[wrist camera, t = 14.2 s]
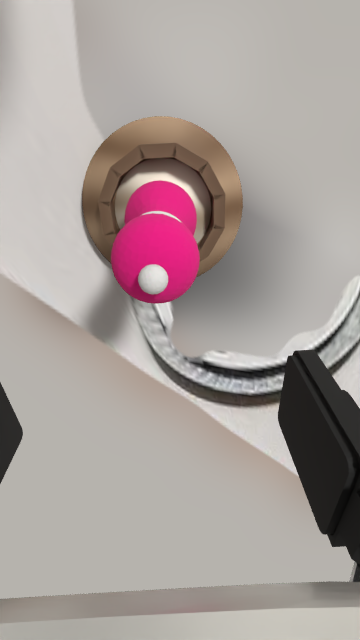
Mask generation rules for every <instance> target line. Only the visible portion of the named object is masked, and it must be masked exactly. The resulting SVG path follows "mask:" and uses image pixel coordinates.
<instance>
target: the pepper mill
mask: <svg viewBox="0 0 360 640" xmlns="http://www.w3.org/2000/svg"><path fill="white" fill-rule="evenodd" d="M124 222H125V226H124V227H123V228H122V229H121V230H120V231H119V233H118V234H117V236H116V238H115V241H114V243H113V247H112V251H111V264H112V269H113V273H114V276H115V278H116V280H117V281H118V283H119V284H120V286H121V287H122V288H123V290H124V291H125V292H127V293H128V294H129V295H131V296H132V297H133V298H136V299H138V300H140V301H143V302H147V303H165V302H170V301H172V300H174V299H177V298H178V297H180V296H181V295H183V294H184V293H185V292H186V291H187V290H188V289H189V288H190V287H191V285H192V283H193V282H194V280H195V278H196V276H197V273H198V269H199V261H200V255H199V250H198V246H197V242H196V240H195V238H194V233H195V230H196V224H197V214H196V208H195V205H194V203H193V201H192V199H191V197H190V196H189V195H188V193H187V192H186V191H185V190H184V189H183V188H181V187H180V186H178V185H176V184H174V183H172V182H168V181H162V180H159V181H152V182H148V183H146V184H144V185H142V186H141V187H139V188H138V189H137V190H136V191H135V192H134V193H133V194H132V195H131V197H130V198H129V201H128V203H127V206H126V210H125V219H124Z"/></svg>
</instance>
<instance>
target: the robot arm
mask: <svg viewBox="0 0 360 640" xmlns="http://www.w3.org/2000/svg"><path fill="white" fill-rule="evenodd" d="M278 421H279V425H280V427H281V430H282V433H283V435H284V438H285V441H286V443H287V446H288V449H289V451H290V454H291V456H292V459H293V462H294V464H295V467H296V470H297V472H298V475H299V478H300V480H301V483H302V485H303V488H304V491H305V493H306V496H307V499H308V501H309V504H310V506H311V509H312V512H313V514H314V517H315V520H316V522H317V525H318V527H319V530H320V531H321V533H322V534H327V535H328V537H329V540H330V542H331V545H332V547H340V546H346V547H347V549H348V552H349V554H350V556H351V559H353V560H354V561H355V562H354V566H353V570H352V573H351V577H350V581H349V582H308V583H276V584H254V585H236V586H216V587H198V588H178V589H160V590H143V591H125V592H108V593H92V594H75V595H58V596H42V597H24V598H9V599H0V640H360V409H359V407H358V406H357V404H356V403H355V401H354V400H353V398H352V397H351V396H350V395H349V393H348V392H346V391H345V390H341V389H340V387H339V386H338V384H337V383H336V381H335V380H334V378H333V377H332V375H331V374H330V372H329V371H328V369H327V368H326V366H325V365H324V363H323V362H322V361H321V359H320V358H319V356H318V355H317V353H316V352H315V351H314V350H301V351H294V353H293V356H288V358H287V364H286V369H285V375H284V381H283V387H282V393H281V399H280V405H279V411H278ZM22 435H23V432H22V427H21V425H20V423H19V421H18V419H17V417H16V415H15V412H14V411H13V408H12V406H11V404H10V402H9V400H8V398H7V396H6V393H5V391H4V389H3V387H2V385H1V383H0V483H1V481H2V479H3V477H4V475H5V472H6V471H7V469H8V467H9V464H10V462H11V460H12V458H13V456H14V454H15V452H16V450H17V448H18V446H19V444H20V442H21V439H22Z"/></svg>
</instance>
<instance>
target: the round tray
mask: <svg viewBox="0 0 360 640" xmlns="http://www.w3.org/2000/svg"><path fill="white" fill-rule="evenodd" d="M159 180H162V181H168V182H172V183H174V184H176V185H178V186H180V187H181V188H183V189H184V190H185V191H186V192H187V193H188V195H189V196H190V197H191V199H192V201H193V203H194V205H195V208H196V214H197V224H196V230H195V233H194V238H195V240H196V242H197V246H198V250H199V255H200V261H199V269H198V273H197V276H196V277H198V276H200V275H201V274H203V273H205V272H206V271H208V270H209V269H211V268H212V267H213V266H214V265H215V264H216V263H218V262H219V261H220V260H221V258H222V257H223V256H224V255H225V254H226V252H227V251H228V249H229V248H230V246H231V244H232V243H233V241H234V239H235V237H236V234H237V231H238V229H239V225H240V220H241V216H242V208H243V204H242V203H243V202H242V200H243V198H242V189H241V183H240V179H239V176H238V173H237V170H236V168H235V166H234V163H233V162H232V160H231V158H230V156H229V154H228V153H227V151H226V150H225V149H224V148H223V146H222V145H221V144H220V143H219V142H218V141H217V140H216V139H215V138H214V137H213V136H212V135H211V134H209V133H208V132H207V131H205V130H204V129H203V128H201V127H199V126H197V125H195V124H193V123H191V122H188V121H185V120H182V119H179V118H173V117H162V116H160V117H159V116H158V117H157V116H155V117H148V118H143V119H140V120H136V121H133V122H131V123H129V124H127V125H125V126H123V127H121V128H120V129H118V130H117V131H115V132H114V133H112V135H110V136H109V137H108V138H107V139H106V140H105V141H104V142H103V143H102V144H101V146H100V147H99V148H98V150H97V151H96V153H95V154H94V156H93V158H92V160H91V161H90V164H89V166H88V169H87V171H86V175H85V179H84V184H83V192H82V205H83V213H84V218H85V222H86V225H87V228H88V231H89V233H90V236H91V238H92V239H93V241H94V243H95V245H96V246H97V248H98V249H99V251H100V252H101V253H102V255H103V256H104V257H105V258H106V259H107V260H108V261H109V262H110V263H111V251H112V247H113V243H114V241H115V238H116V236H117V234H118V233H119V231H120V230H121V229H122V228H123V227H124V226H125V222H124V219H125V210H126V206H127V203H128V201H129V198H130V197H131V195H132V194H133V193H134V192H135V191H136V190H137V189H138V188H139V187H141V186H142V185H144V184H146V183H148V182H152V181H159Z"/></svg>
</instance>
